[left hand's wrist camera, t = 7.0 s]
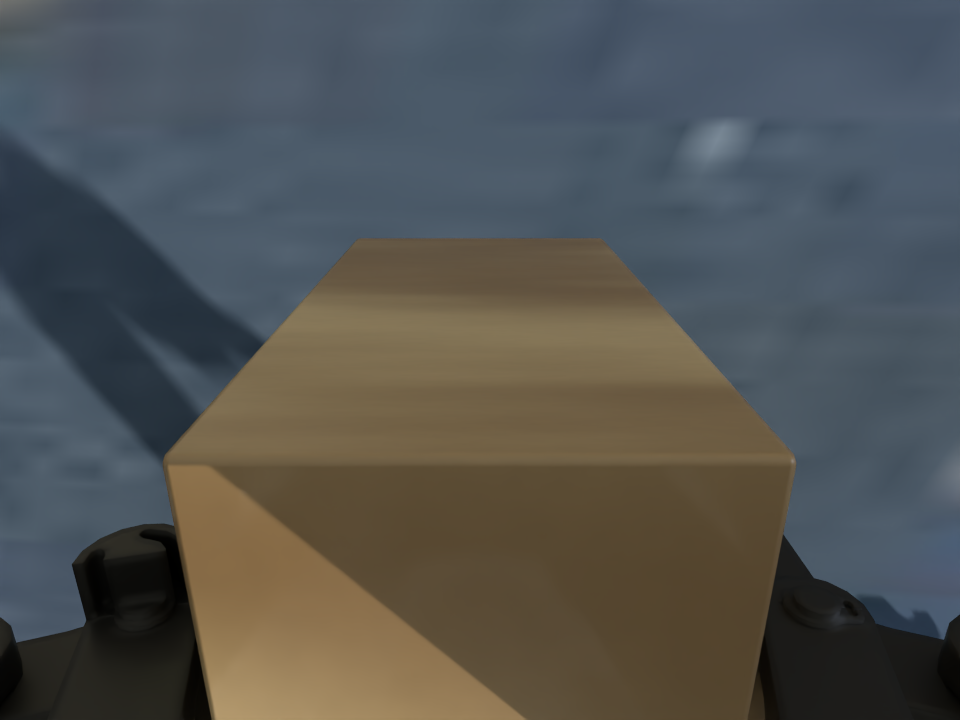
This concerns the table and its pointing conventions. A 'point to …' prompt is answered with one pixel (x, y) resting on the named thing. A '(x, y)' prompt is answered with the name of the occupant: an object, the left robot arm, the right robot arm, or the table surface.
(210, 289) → the table surface
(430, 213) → the table surface
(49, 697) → the left robot arm
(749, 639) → the plank
